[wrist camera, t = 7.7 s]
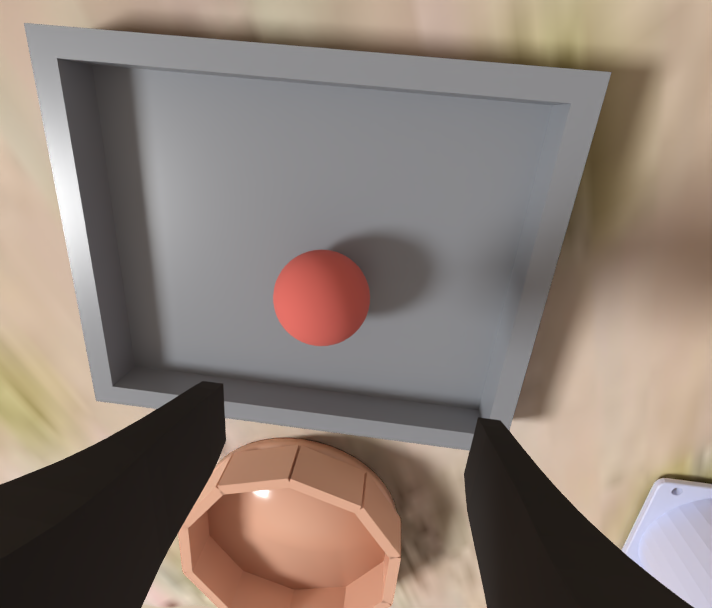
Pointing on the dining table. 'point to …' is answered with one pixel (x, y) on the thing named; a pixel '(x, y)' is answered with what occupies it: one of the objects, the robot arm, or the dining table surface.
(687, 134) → the dining table surface
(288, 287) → the ball
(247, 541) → the pink bowl
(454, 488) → the dining table surface
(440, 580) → the dining table surface
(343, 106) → the tray
